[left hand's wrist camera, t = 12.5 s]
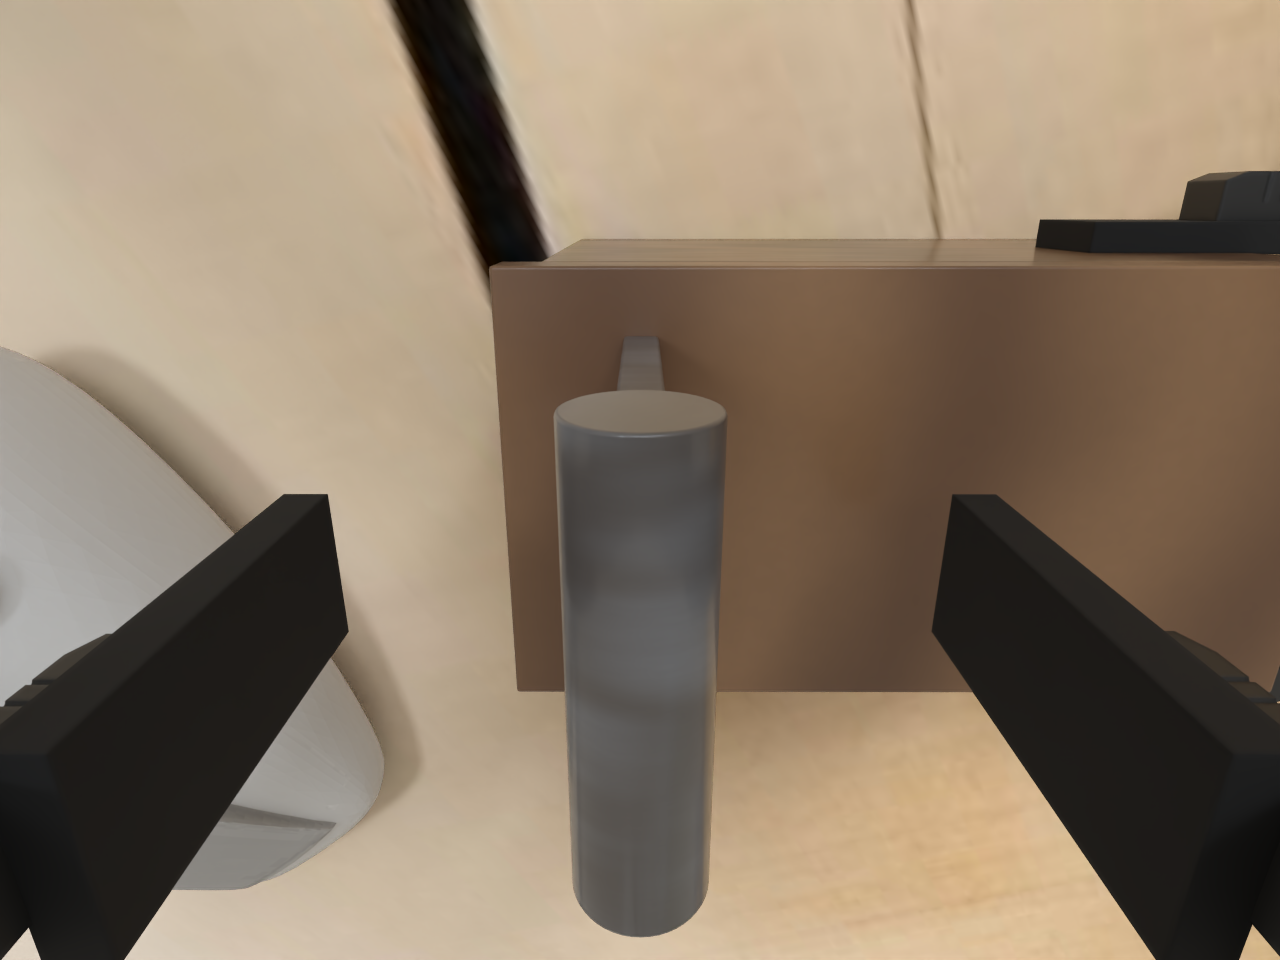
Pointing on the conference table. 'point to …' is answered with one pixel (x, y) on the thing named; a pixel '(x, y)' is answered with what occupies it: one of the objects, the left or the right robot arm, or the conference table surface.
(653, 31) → the conference table surface
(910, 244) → the chest
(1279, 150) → the conference table surface
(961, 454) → the lid
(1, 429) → the projector
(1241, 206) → the right robot arm
